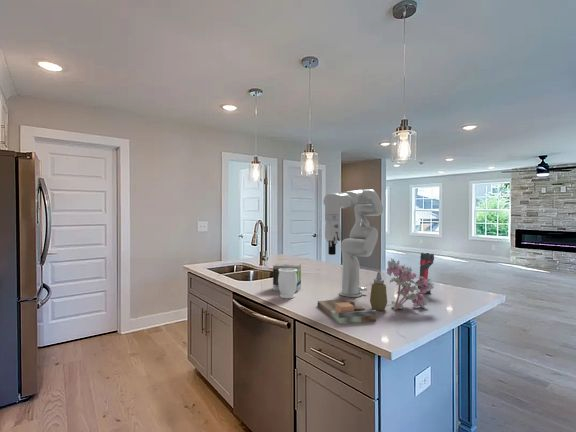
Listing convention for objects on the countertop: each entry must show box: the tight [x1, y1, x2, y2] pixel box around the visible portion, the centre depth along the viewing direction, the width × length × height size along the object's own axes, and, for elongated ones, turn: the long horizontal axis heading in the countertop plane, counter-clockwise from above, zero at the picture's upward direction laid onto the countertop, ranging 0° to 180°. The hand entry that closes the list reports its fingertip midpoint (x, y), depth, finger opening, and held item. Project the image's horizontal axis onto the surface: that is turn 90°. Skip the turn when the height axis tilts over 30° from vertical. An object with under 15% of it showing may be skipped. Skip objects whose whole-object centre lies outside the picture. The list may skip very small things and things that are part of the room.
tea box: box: [272, 263, 302, 293], centre depth 193 cm, size 15×10×15 cm, turn 76°
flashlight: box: [417, 252, 435, 294], centre depth 190 cm, size 8×8×23 cm
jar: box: [278, 268, 297, 299], centre depth 176 cm, size 11×10×15 cm
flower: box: [386, 257, 435, 311], centre depth 158 cm, size 20×22×25 cm
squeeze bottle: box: [369, 271, 388, 312], centre depth 156 cm, size 8×8×18 cm
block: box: [335, 302, 354, 315], centre depth 140 cm, size 6×6×4 cm
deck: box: [317, 298, 377, 325], centre depth 149 cm, size 17×26×4 cm, turn 15°
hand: (331, 254), depth 163 cm, fingers closed
